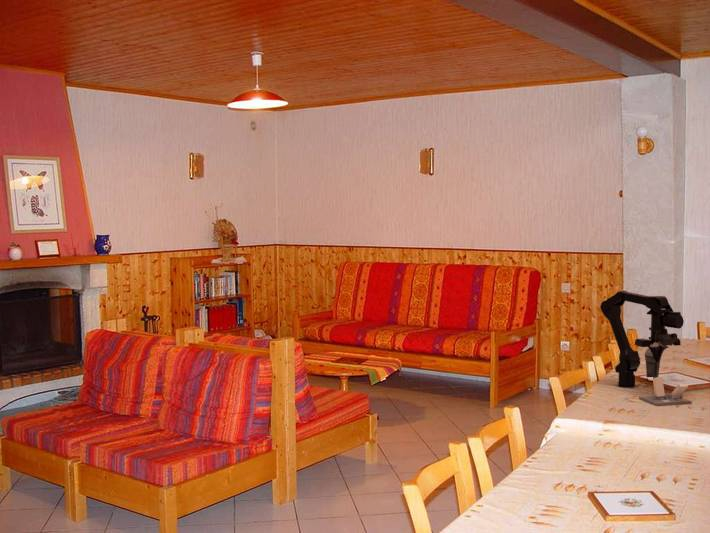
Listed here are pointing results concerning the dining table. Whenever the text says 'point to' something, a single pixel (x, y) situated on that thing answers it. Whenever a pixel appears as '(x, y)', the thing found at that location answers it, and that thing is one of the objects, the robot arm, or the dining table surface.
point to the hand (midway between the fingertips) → (657, 362)
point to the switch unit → (665, 400)
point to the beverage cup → (651, 365)
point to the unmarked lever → (658, 387)
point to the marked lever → (679, 390)
